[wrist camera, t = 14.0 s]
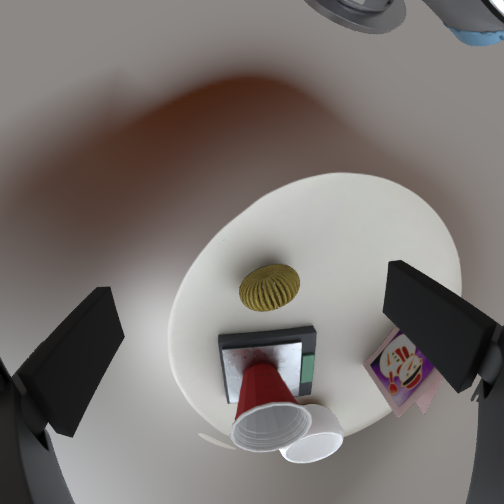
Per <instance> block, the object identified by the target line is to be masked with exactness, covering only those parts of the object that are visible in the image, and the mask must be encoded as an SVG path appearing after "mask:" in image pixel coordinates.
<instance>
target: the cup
mask: <svg viewBox="0 0 504 504" xmlns="http://www.w3.org/2000/svg"><path fill="white" fill-rule="evenodd" d="M302 406H303V407H304V408H305V409H306V410H307V411H308V412H309V413H310V414H311V419H312V424H311V426H310V428H309V430H308V432H307V433H306V434H305V435H304V436H303V437H302V438H301V439H300V440H299V441H297V442H295V443H293V444H291V445H290V446H288V447H286V448H282V449H279V450H280V451H281V453H282V455H283V456H284V457H285V458H286V459H287V460H288V461H291V462H294V463H308V462H313V461H317V460H320V459H323V458H325V457H327V456H329V455H331V454H332V453H334V452H335V451H336V450H337V449H338V448H339V447H340V446H341V444H342V441H343V430H342V428H341V425H340V423H339V421H338V419H337V417H336V415H335V414H334V413H333V412H332V411H331V410H329V409H328V408H326V407H324V406H321V405H316V404H308V405H302Z"/></svg>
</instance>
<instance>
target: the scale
mask: <svg viewBox="0 0 504 504" xmlns="http://www.w3.org/2000/svg"><path fill="white" fill-rule="evenodd" d="M316 333H317V332H316V330H315V328H314V327H313V326H308V327H301V328H292V329H283V330H274V331H264V332H253V333H240V334H226V335H219V337H218V344H219V351H220V358H221V365H222V371H223V378H224V384H225V391H226V397H227V403H228V404H230V403H238V400H239V393H240V389H241V384H242V379H243V375H244V373H245V372H246V370H247V369H248V368H250V367H252V366H254V365H257V364H268V365H271V366H273V367H274V368H275V369H276V370H277V371H278V372H279V373H280V375H281V377H282V379H283V381H284V382H285V383H286V385H287V386H288V388H289V390H290V391H291V393H292V395H293V396H294V397H297V396H304V395H310V394H311V388H312V379H313V369H314V358H315V346H316Z"/></svg>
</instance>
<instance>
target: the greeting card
mask: <svg viewBox="0 0 504 504" xmlns="http://www.w3.org/2000/svg"><path fill="white" fill-rule="evenodd" d="M363 366H364V367H365V369H366V370H367V372H368V373H369V375H370V376H371V378H372V379H373V381H374V382H375V384H376V385H377V387H378V388H379V390H380V392H381V393H382V395H383V396H384V398H385V399H386V401H387V402H388V404H389V405H390V407H391V409H392V410H393V412H394V413H395V415H396V416H397V418H399V417H400V416H401V415H402V414H403V413H404V412H405V411H406V410H407V409H408V408H409V407H410V406H411V405H412V404H413V403H414V402H415V403H416V404H417V405H418V407H419V408H420V409H421V411H422V412H423V414H425V413H426V411H427V409H428V407H429V405H430V403H431V402H432V400H433V397H434V396H435V394H436V392H437V390H438V387H439V385H440V383H441V381H442V379H443V376H442V375H441V374H440V372H439V371H438V370H437V369H436V368H435V367H434V366H433V365H432V364H431V363H430V361H429V360H428V359H427V358H426V357H425V356H424V355H423V354H422V353H421V352H420V351H419V349H418V348H417V347H416V346H415V345H414V344H413V343H412V342H411V341H410V340H409V339H408V338H407V337H406V336H405V335H404V334H403V333H402V332H401V330H400V329H399V328H398V327H397V326H396V327H395V328H394V329H393V331H392V332H391V333H390V334H389V335H388V337H387V338H386V339H385V340H384V342H383V343H382V344H381V345H380V346H379V347H378V349H377V350H376V351H375V352H374V353H373V354H372V355H371V357H370V358H369V359H368V360H367V361H366V362H365V363H364V364H363Z"/></svg>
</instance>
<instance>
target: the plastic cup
mask: <svg viewBox="0 0 504 504" xmlns="http://www.w3.org/2000/svg"><path fill="white" fill-rule="evenodd" d="M311 424H312V419H311V414H310V413H309V412H308V411H307V410H306V409H305V408H304V407H303V406H301V405H299V404H298V403H297V401H296V400H295V398H294V396H293V395H292V393H291V391H290V390H289V388H288V386H287V385H286V383H285V382H284V381H283V379H282V377H281V375H280V373H279V372H278V371H277V370H276V369H275V368H274V367H273V366H271V365H268V364H257V365H254V366H252V367H250V368H248V369H247V370H246V372H245V373H244V375H243V379H242V384H241V389H240V393H239V400H238V407H237V413H236V417H235V422H234V423H233V425H232V429H231V433H230V437H231V439H232V440H233V443H234V444H235V445H237V446H239V447H240V448H242V449H244V450H248V451H253V452H271V451H275V450H279V449H282V448H286V447H288V446H290V445H291V444H293V443H295V442H297V441H299V440H300V439H301V438H302V437H303V436H304V435H305V434H306V433H307V432H308V430H309V428H310V426H311Z"/></svg>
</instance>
